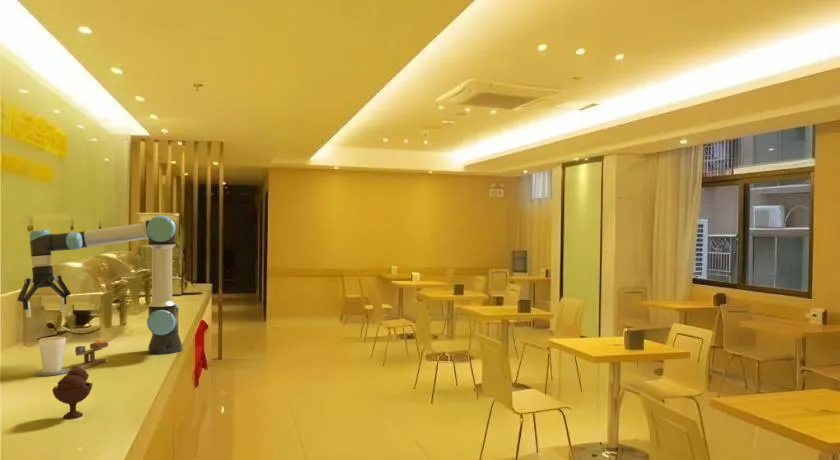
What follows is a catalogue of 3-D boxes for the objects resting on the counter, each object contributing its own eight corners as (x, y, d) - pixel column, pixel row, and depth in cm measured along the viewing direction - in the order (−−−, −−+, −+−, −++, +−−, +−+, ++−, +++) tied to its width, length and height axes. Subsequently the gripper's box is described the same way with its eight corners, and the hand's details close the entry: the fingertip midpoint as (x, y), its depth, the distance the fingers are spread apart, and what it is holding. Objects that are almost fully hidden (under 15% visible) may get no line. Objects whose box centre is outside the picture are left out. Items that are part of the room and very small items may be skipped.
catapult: (108, 361, 264) (108, 340, 264) (81, 370, 248) (81, 348, 248) (98, 361, 265) (98, 340, 265) (71, 369, 249) (71, 347, 249)
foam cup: (52, 373, 238) (52, 341, 238) (33, 372, 240) (33, 340, 240) (71, 368, 247) (71, 337, 247) (52, 367, 249) (52, 336, 249)
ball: (104, 345, 263) (104, 338, 263) (99, 347, 260) (99, 339, 260) (98, 345, 264) (98, 338, 264) (93, 346, 260) (93, 339, 260)
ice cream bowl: (63, 411, 192) (62, 365, 192) (99, 410, 193) (98, 364, 193) (45, 422, 182) (45, 373, 182) (83, 421, 183) (83, 372, 183)
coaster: (76, 369, 248) (76, 367, 248) (54, 377, 237) (54, 374, 237) (51, 368, 250) (51, 366, 250) (27, 375, 239) (27, 373, 239)
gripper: (68, 263, 271) (72, 310, 270) (5, 268, 250) (9, 319, 250) (76, 262, 266) (80, 310, 266) (13, 268, 246) (17, 319, 246)
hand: (46, 314), depth 258 cm, fingers open, 13 cm apart
